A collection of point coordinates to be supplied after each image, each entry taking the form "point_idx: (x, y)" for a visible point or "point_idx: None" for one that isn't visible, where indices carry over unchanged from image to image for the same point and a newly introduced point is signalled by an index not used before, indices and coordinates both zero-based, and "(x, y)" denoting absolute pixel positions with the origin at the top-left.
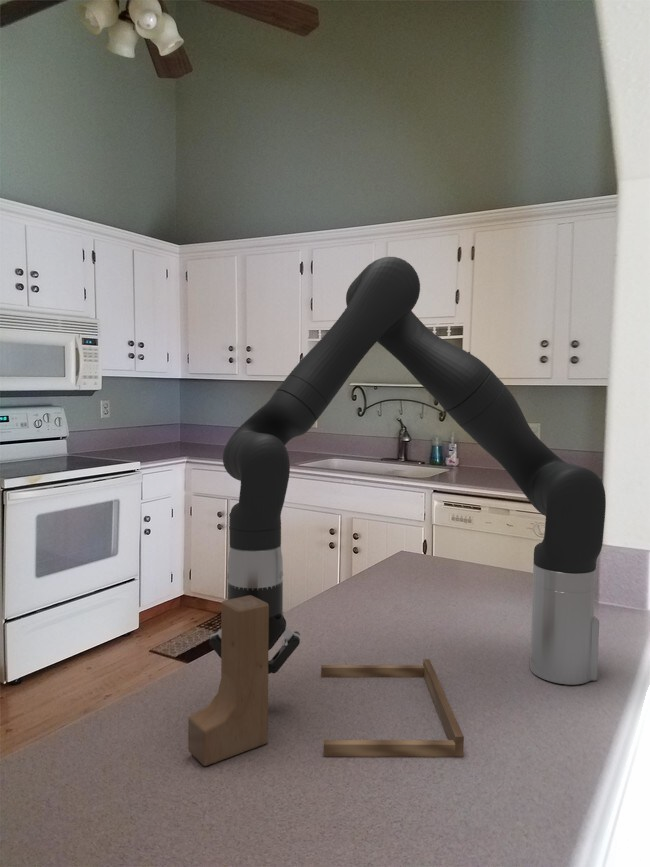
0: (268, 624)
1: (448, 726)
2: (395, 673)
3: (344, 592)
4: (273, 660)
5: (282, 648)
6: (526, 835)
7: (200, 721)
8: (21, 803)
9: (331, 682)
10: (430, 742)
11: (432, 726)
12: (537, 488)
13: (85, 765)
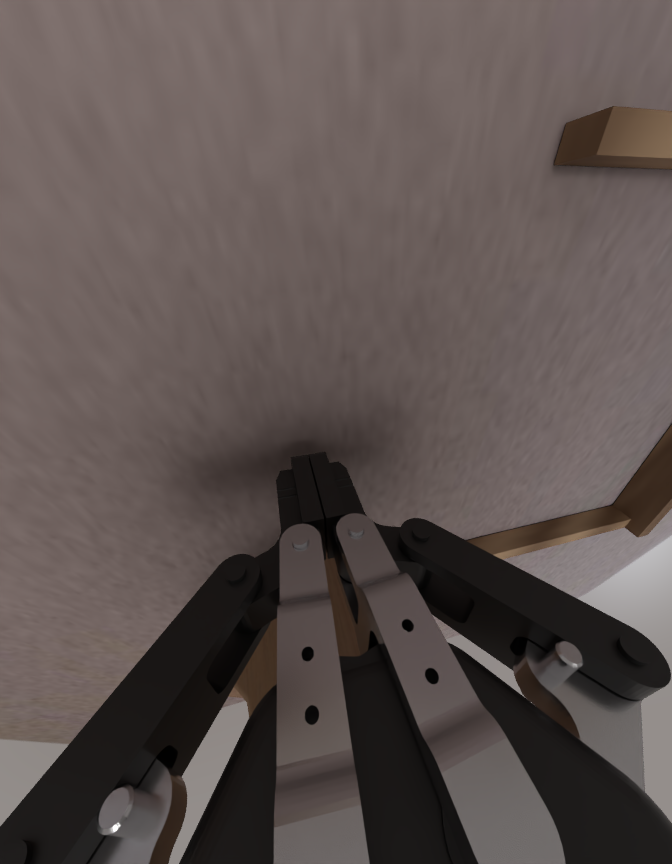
0: None
1: (655, 494)
2: None
3: None
4: (421, 573)
5: (496, 634)
6: (573, 588)
7: (232, 695)
8: (4, 730)
9: (568, 227)
10: (598, 530)
11: (640, 447)
12: None
13: (14, 675)
